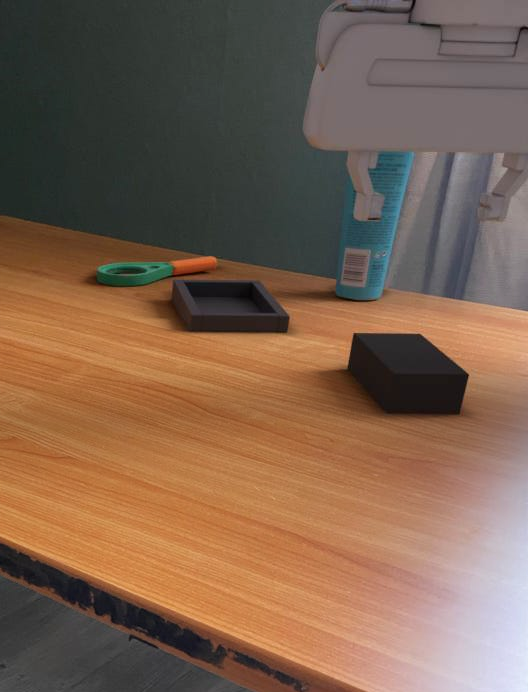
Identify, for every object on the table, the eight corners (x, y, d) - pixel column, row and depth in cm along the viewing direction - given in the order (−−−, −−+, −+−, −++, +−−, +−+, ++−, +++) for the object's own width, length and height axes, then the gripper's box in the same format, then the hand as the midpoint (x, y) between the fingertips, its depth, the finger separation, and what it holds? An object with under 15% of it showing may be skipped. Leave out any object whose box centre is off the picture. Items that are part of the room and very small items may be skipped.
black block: (411, 376, 84) (420, 333, 82) (458, 421, 75) (469, 374, 73) (345, 375, 84) (353, 332, 82) (384, 420, 75) (393, 373, 73)
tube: (387, 292, 110) (424, 95, 100) (396, 302, 106) (435, 98, 96) (319, 289, 111) (349, 93, 100) (325, 300, 106) (357, 96, 96)
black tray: (257, 300, 106) (259, 280, 105) (286, 338, 94) (290, 315, 92) (171, 299, 106) (173, 279, 105) (189, 337, 93) (191, 314, 92)
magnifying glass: (112, 288, 110) (113, 272, 109) (87, 277, 114) (87, 261, 113) (226, 276, 115) (228, 261, 114) (197, 266, 120) (199, 251, 119)
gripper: (341, -11, 61) (304, 227, 69) (649, -1, 64) (581, 229, 71) (308, -10, 67) (277, 211, 74) (593, 0, 69) (536, 214, 76)
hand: (428, 220), depth 73 cm, fingers open, 8 cm apart
